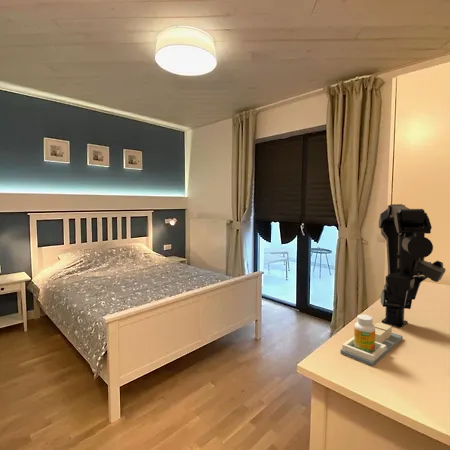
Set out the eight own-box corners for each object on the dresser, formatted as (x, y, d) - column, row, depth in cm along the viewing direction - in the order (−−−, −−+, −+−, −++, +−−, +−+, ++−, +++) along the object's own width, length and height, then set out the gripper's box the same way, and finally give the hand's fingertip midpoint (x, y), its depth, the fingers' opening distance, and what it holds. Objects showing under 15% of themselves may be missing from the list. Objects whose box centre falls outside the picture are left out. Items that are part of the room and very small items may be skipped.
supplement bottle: (359, 354, 80) (360, 321, 79) (350, 345, 85) (351, 313, 84) (378, 354, 80) (379, 320, 79) (368, 344, 85) (369, 313, 84)
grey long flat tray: (372, 329, 97) (372, 318, 97) (402, 338, 90) (402, 326, 90) (340, 353, 83) (340, 340, 82) (372, 366, 76) (373, 352, 76)
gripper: (433, 260, 72) (430, 320, 73) (451, 250, 84) (448, 302, 86) (385, 254, 81) (384, 308, 82) (408, 246, 93) (406, 293, 94)
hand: (407, 302), depth 86 cm, fingers open, 9 cm apart
